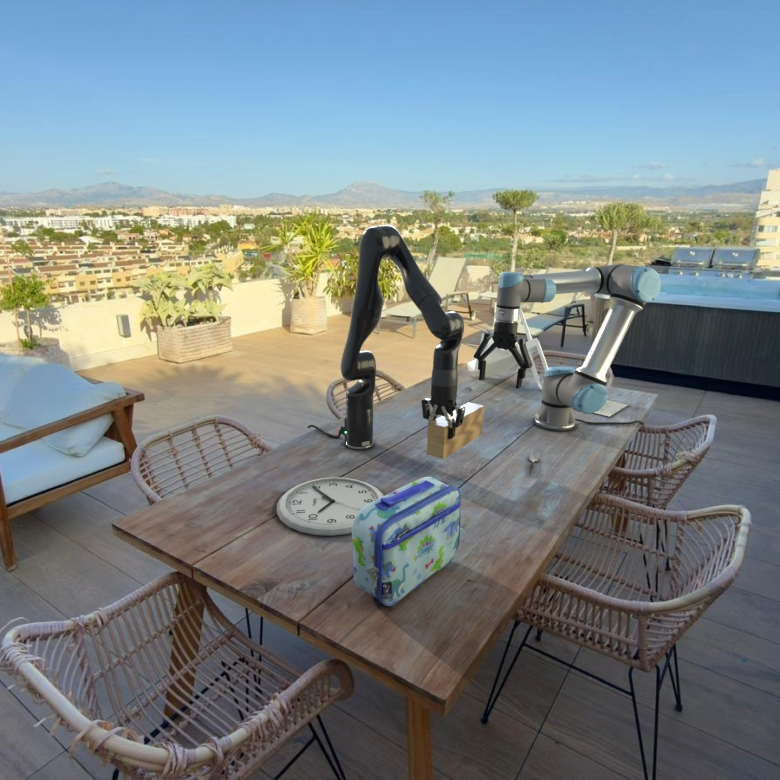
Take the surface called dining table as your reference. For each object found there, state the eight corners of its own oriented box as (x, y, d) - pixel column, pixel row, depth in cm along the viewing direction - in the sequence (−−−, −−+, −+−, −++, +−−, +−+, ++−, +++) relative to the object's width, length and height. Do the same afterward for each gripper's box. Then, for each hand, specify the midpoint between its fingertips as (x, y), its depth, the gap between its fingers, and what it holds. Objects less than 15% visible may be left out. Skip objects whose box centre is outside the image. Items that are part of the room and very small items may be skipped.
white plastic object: (487, 418, 267) (468, 395, 242) (469, 346, 289) (449, 318, 264) (558, 394, 255) (545, 368, 230) (533, 321, 277) (518, 289, 252)
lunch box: (381, 619, 101) (382, 525, 95) (345, 592, 109) (344, 503, 102) (464, 563, 119) (469, 480, 113) (428, 543, 126) (432, 464, 120)
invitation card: (608, 416, 214) (573, 407, 224) (608, 416, 214) (573, 408, 224) (628, 404, 229) (594, 396, 238) (628, 405, 229) (594, 397, 238)
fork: (525, 475, 162) (525, 469, 161) (530, 455, 176) (531, 449, 176) (534, 476, 161) (534, 470, 161) (538, 456, 175) (539, 450, 175)
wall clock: (392, 527, 129) (268, 531, 127) (391, 533, 130) (269, 537, 127) (383, 473, 158) (282, 475, 155) (383, 478, 158) (282, 480, 156)
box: (466, 430, 176) (468, 402, 173) (481, 434, 172) (484, 405, 169) (426, 454, 157) (428, 422, 154) (443, 459, 154) (444, 427, 150)
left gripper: (416, 380, 152) (414, 433, 157) (459, 389, 144) (456, 446, 149) (430, 374, 158) (428, 426, 163) (472, 383, 150) (468, 438, 155)
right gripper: (467, 317, 174) (461, 378, 180) (538, 327, 160) (530, 393, 166) (477, 314, 180) (472, 374, 186) (547, 324, 165) (539, 388, 172)
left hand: (441, 435), depth 156 cm, fingers closed on box, 5 cm apart
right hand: (499, 383), depth 176 cm, fingers open, 13 cm apart
